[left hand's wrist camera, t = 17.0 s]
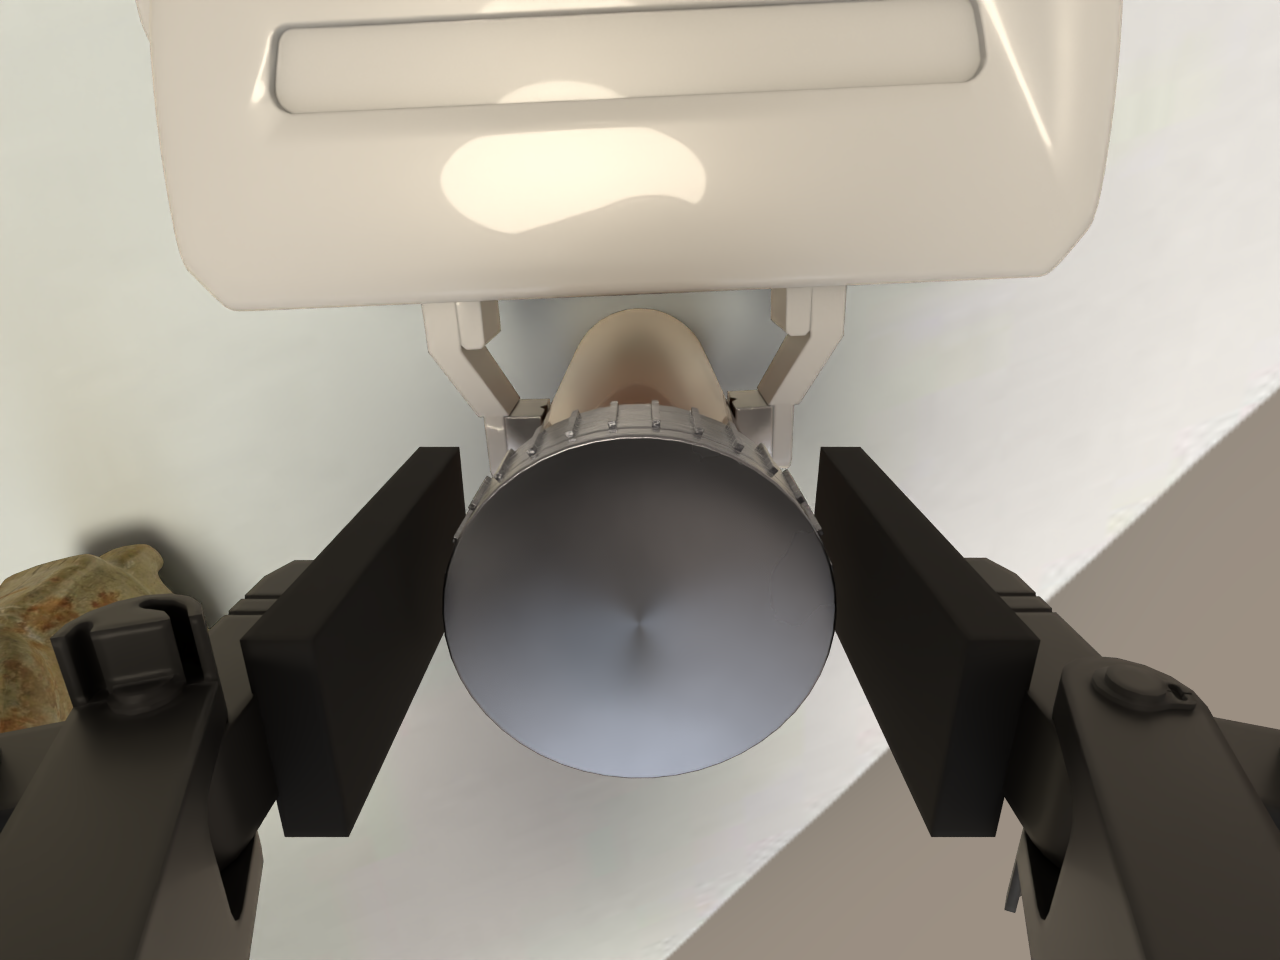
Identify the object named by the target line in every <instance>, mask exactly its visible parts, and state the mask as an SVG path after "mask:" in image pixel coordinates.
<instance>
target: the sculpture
mask: <svg viewBox="0 0 1280 960" xmlns="http://www.w3.org/2000/svg"><path fill="white" fill-rule="evenodd" d="M162 566H163V559H162V557H161V555H160V554H159V553H158V552H157V551H156V550H155V549H154V548H153V547H151V546H150V545H147V544H135V545H128V546H123V547H119V548H116V549H113V550H111V551H109V552H107V553H105V554H103V555H101V556H99V557H97V556H95V555H90V554H82V555H76V556H72V557H68V558H64V559H60V560H56V561H52V562H48V563H45V564H41V565H38V566H35V567H32V568H30V569H27V570H24V571H22V572H19V573H17V574H14V575H12V576H10V577H8V578H7V579H5V580H4V581H3V583H2V584H1V585H0V733H4V732H10V731H15V730H20V729H25V728H30V727H36V726H41V725H46V724H51V723H57V722H62V721H66V719H67V717H68V715H69V714H70V712H71V710H72V708H73V706H72V703H71V700H70V697H69V694H68V691H67V688H66V685H65V682H64V679H63V676H62V673H61V670H60V667H59V664H58V662H57V659H56V656H55V653H54V650H53V647H52V644H51V641H50V638H51V637H52V636H53V635H54V634H55V633H56V632H57V631H58V630H59V629H61V628H62V627H63V626H64V625H65V624H67V623H69V622H70V621H72V620H74V619H76V618H78V617H80V616H81V615H83V614H85V613H87V612H89V611H92V610H94V609H97V608H100V607H103V606H105V605H108V604H111V603H114V602H117V601H121V600H125V599H130V598H135V597H139V596H144V595H154V594H168V593H172V594H174V593H173V592H172V591H171V590H169V589H168V588H167V587H166V586H165V585H164V584H163V583H162V581H161V579H160V578H159V575H158V571H159V570H160V569H161V568H162ZM207 629H208V627H207ZM208 631H209V629H208Z"/></svg>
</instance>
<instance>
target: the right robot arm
mask: <svg viewBox="0 0 1280 960" xmlns="http://www.w3.org/2000/svg"><path fill="white" fill-rule="evenodd" d="M136 4H137V8H138V12H139V16H140V20H141V23H142V26H143V29H144V31H145V33H146V35H147V38H148V40H149V41H150V53H151V65H152V77H153V89H154V100H155V109H156V119H157V127H158V134H159V142H160V149H161V156H162V164H163V170H164V176H165V183H166V189H167V195H168V201H169V206H170V211H171V217H172V222H173V227H174V232H175V237H176V241H177V244H178V248H179V252H180V255H181V258H182V260H183V263H184V265H185V267H186V268H187V270H188V271H189V272H190V273H191V274H192V275H193V276H194V277H195V278H196V279H197V280H198V281H199V282H200V283H201V284H202V285H203V286H204V287H205V288H206V289H207V290H208V292H209V293H210V294H211V295H213V296H214V297H215V298H216V299H217V300H218V301H219V302H220V303H221V304H222V305H223V306H225V307H226V308H228V309H230V310H233V311H262V310H285V309H309V308H332V307H355V306H379V305H402V304H421V305H422V312H423V319H424V325H425V332H426V339H427V346H428V352H429V354H430V355H431V356H432V357H433V359H434V360H435V361H436V363H437V364H438V365H439V367H440V368H441V369H442V370H443V372H444V373H445V374H446V376H447V377H448V378H449V380H450V381H451V382H452V383H453V385H454V386H455V387H456V389H457V390H458V391H459V393H460V394H461V395H462V396H463V398H464V399H465V400H466V402H467V403H468V404H469V406H470V407H471V408H472V409H473V411H474V412H475V413H476V415H477V416H478V417H484V424H485V432H486V440H487V448H488V456H489V464H490V472H491V474H492V476H494V474H495V472H496V471H497V469H498V467H499V465H500V463H501V462H502V460H503V458H504V456H505V454H506V453H507V451H508V450H509V449H510V448H512V449H513V450H514V451H516V450H517V449H518V448H519V447H520V446H522V445H523V444H524V443H526V442H527V441H528V440H529V439H531V438H532V437H533V435H534V433H535V431H536V429H537V428H538V427H540V426H541V425H542V423H543V420H544V418H545V416H546V414H547V412H548V410H549V408H550V399H520V397H519V395H518V394H517V392H516V391H515V389H514V388H513V386H512V385H511V383H510V382H509V380H508V379H507V377H506V376H505V374H504V373H503V371H502V370H501V368H500V367H499V366H498V364H497V363H496V361H495V360H494V358H493V357H492V355H491V354H490V352H489V351H488V349H487V348H486V346H485V345H486V344H487V343H488V342H490V341H491V340H492V339H493V338H494V337H495V336H496V335H497V334H498V333H499V332H500V331H501V326H500V316H499V306H498V300H518V299H542V298H565V297H588V296H612V295H635V294H658V293H682V292H705V291H728V290H752V289H771V320H772V321H773V322H774V323H775V324H776V325H777V326H779V327H780V328H781V329H782V330H784V331H785V332H786V333H787V336H786V337H785V339H784V341H783V343H782V344H781V346H780V348H779V350H778V351H777V353H776V355H775V357H774V358H773V360H772V362H771V364H770V366H769V367H768V369H767V371H766V373H765V374H764V376H763V378H762V380H761V381H760V383H759V385H758V387H757V389H758V390H743V391H727V402H728V404H729V406H730V409H731V411H732V413H733V415H734V417H735V420H736V422H737V424H738V426H739V428H740V431H741V433H742V434H743V435H744V436H745V437H747V438H748V439H749V440H751V441H752V442H753V443H755V444H756V445H757V446H758V445H759V444H760V443H763V444H764V445H765V446H766V448H767V450H768V452H769V453H770V455H771V457H772V459H773V461H774V462H775V463H776V464H777V466H778V467H779V468H789V467H790V464H791V460H792V442H793V414H794V405H797V404H799V403H800V402H801V400H802V399H803V397H804V396H805V394H806V393H807V391H808V390H809V388H810V386H811V385H812V383H813V382H814V380H815V379H816V377H817V376H818V374H819V373H820V371H821V369H822V368H823V366H824V365H825V363H826V362H827V360H828V359H829V357H830V356H831V354H832V352H833V351H834V349H835V348H836V346H837V345H838V343H839V342H840V340H841V339H842V337H843V335H844V320H845V304H846V288H847V285H868V284H891V283H915V282H938V281H961V280H985V279H1007V278H1029V277H1040V276H1044V275H1047V274H1048V273H1050V272H1051V271H1052V270H1053V269H1054V268H1055V267H1056V266H1057V265H1058V264H1059V263H1060V262H1061V261H1062V260H1063V259H1064V258H1065V257H1066V256H1067V254H1068V253H1069V252H1070V251H1071V250H1072V249H1073V247H1074V246H1075V245H1076V244H1077V243H1078V241H1079V240H1080V239H1081V238H1082V237H1083V235H1084V234H1085V233H1086V232H1087V231H1088V229H1089V228H1090V226H1091V224H1092V222H1093V220H1094V216H1095V213H1096V210H1097V207H1098V204H1099V199H1100V194H1101V189H1102V184H1103V179H1104V174H1105V167H1106V161H1107V154H1108V147H1109V141H1110V134H1111V127H1112V119H1113V111H1114V103H1115V95H1116V84H1117V74H1118V63H1119V53H1120V39H1121V24H1122V6H1123V0H136Z"/></svg>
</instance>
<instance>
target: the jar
mask: <svg viewBox="0 0 1280 960" xmlns="http://www.w3.org/2000/svg"><path fill="white" fill-rule="evenodd" d="M651 400H658V401H659V405H662V406H671V407H676V408H680V409H684V410H688V411H690V410H691V407H695V408H698V410H699V413H700V414H702V415H705V416H707V417H710V418H712V419H715V420H717V421H720V422H722V423H723V424H725V425H727V423H728V421H730V422H732V423H734V424H735V426H736V428H737V431H738V432H740V433H741V431H740V428H739V426H738V424H737V422H736V420H735V417H734V415H733V413H732V411H731V409H730V406H729V404H728V402H727V400H726V398H725V396H724V393H723V391H722V389H721V387H720V385H719V382H718V380H717V378H716V376H715V374H714V371H713V369H712V367H711V365H710V363H709V360H708V358H707V356H706V354H705V352H704V350H703V348H702V346H701V344H700V342H699V340H698V339H697V337H696V336H695V335H694V333H693V332H692V331H691V330H690V329H689V328H688V327H687V326H686V325H685V324H683V323H682V322H681V321H679V320H678V319H676V318H675V317H673V316H671V315H668V314H666V313H664V312H661V311H657V310H652V309H644V308H635V309H627V310H623V311H619V312H616V313H614V314H611V315H609V316H607V317H605V318H604V319H602V320H601V321H599V322H598V323H596V324H595V325H594V326H593V327H592V328H591V329H590V330H589V331H588V332H587V333H586V335H585V336H584V337H583V338H582V340H581V342H580V343H579V345H578V347H577V349H576V351H575V353H574V356H573V358H572V360H571V362H570V364H569V366H568V369H567V371H566V373H565V375H564V377H563V379H562V382H561V384H560V386H559V388H558V390H557V392H556V395H555V397H554V399H553V401H552V403H551V405H550V408H549V410H548V412H547V414H546V416H545V418H544V420H543V423H542V426H543V427H544V429H546V428H548V427H550V426H551V425H553V424H555V423H557V422H560V421H562V420H564V419H567V418H569V417H570V416H571V413H572V411H574V410H577V409H578V410H579V412H580V413H583V412H587V411H590V410H594V409H598V408H602V407H609V406H610V404H611V401H618V405H624V404H651ZM741 434H742V433H741Z"/></svg>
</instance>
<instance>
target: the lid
mask: <svg viewBox="0 0 1280 960" xmlns="http://www.w3.org/2000/svg"><path fill="white" fill-rule="evenodd" d="M468 508H469V511H468V512H467V514H466V516H465V518H464V519H463V521H462V523H461V525H460V526H459V528H458V530H457V532H456V533H455V535H454V537H453V540H452V543H454V544H455V545H454V548H453V550H452V553H451V556H450V559H449V562H448V565H447V568H446V571H445V574H444V585H443V591H442V618H443V626H444V634H445V638H446V642H447V645H448V649H449V652H450V656H451V659H452V661H453V663H454V666H455V668H456V670H457V673H458V675H459V677H460V679H461V681H462V682H463V684H464V685H465V687H466V689H467V690H468V692H469V694H470V695H471V697H472V698H473V699H474V701H475V702H476V703H477V704H478V705H479V707H480V708H481V709H482V710H483V712H484V713H485V714H486V715H487V716H488V717H489V718H490V719H491V720H492V721H493V722H494V723H495V724H496V725H497V726H499V727H500V728H501V729H502V730H503V731H504V732H506V733H507V734H508V735H510V736H511V737H512V738H514V739H515V740H516V741H518V742H519V743H520V744H522V745H524V746H525V747H527V748H529V749H531V750H532V751H534V752H536V753H538V754H539V755H541V756H544V757H546V758H548V759H550V760H553V761H555V762H557V763H560V764H562V765H565V766H568V767H572V768H575V769H578V770H581V771H585V772H590V773H595V774H600V775H605V776H613V777H624V778H656V777H665V776H674V775H680V774H684V773H689V772H693V771H698V770H701V769H704V768H707V767H710V766H713V765H716V764H719V763H722V762H724V761H726V760H728V759H731V758H733V757H735V756H737V755H739V754H742V753H743V752H745V751H747V750H748V749H750V748H752V747H753V746H755V745H757V744H758V743H760V742H762V741H763V740H764V739H765V738H767V737H768V736H769V735H771V734H772V733H773V732H774V731H776V730H777V729H778V728H780V727H781V726H782V725H783V724H784V723H785V722H786V721H787V720H788V719H789V718H790V717H791V716H792V715H793V714H794V713H795V712H796V710H797V709H798V708H799V707H800V705H801V704H802V703H803V701H804V700H805V699H806V698H807V696H808V695H809V694H810V692H811V690H812V688H813V687H814V685H815V683H816V682H817V680H818V678H819V676H820V675H821V672H822V670H823V667H824V665H825V663H826V660H827V658H828V655H829V652H830V648H831V644H832V640H833V636H834V632H835V623H836V613H837V602H836V586H835V581H834V576H833V570H834V569H833V564H832V562H831V560H830V559H829V557H828V555H827V552H826V549H825V546H824V544H823V541H822V540H821V538H820V536H822V535H824V533H823V530H822V528H821V526H820V525H819V523H818V521H817V519H816V518H815V516H814V514H813V512H812V511H811V509H810V507H809V505H808V504H807V502H806V500H805V498H804V496H803V495H802V493H801V491H800V489H799V488H798V486H797V484H796V482H795V481H794V479H793V477H792V475H791V474H790V472H789V471H788V470H787V469H786V470H785V471H783V472H782V471H781V469H780V468H779V467H778V466H777V464H776V463H775V462H774V461H773V459H772V457H771V455H770V453H769V452H768V450H767V448H766V446H765V445H764V444H763V443H760V444H759V445H758V446H757V445H756V444H755V443H753V442H752V441H751V440H749V439H748V438H747V437H745V436H744V435H743V434H741V433H740V432H738V431H737V428H736V426H735V424H734V423H732V422H730V421H728V423H727V425H725V424H723V423H722V422H720V421H717V420H715V419H712V418H710V417H707V416H705V415H702V414H700V413H699V410H698V408H695V407H691V410H690V411H688V410H684V409H680V408H676V407H671V406H662V405H659V401H658V400H651V404H624V405H618V401H611V404H610V406H609V407H602V408H598V409H594V410H590V411H587V412H583V413H580V412H579V410H578V409H577V410H574V411H572V413H571V416H570V417H569V418H567V419H564V420H562V421H560V422H557V423H555V424H553V425H551V426H550V427H548V428H546V429H544V427H543V426H542V425H541V426H540V427H538V428H537V429H536V431H535V433H534V435H533V437H532V438H531V439H529V440H528V441H527V442H526V443H524V444H523V445H522V446H520V447H519V448H518V449H517V450H516V451H514V450H513V449H512V448H510V449H509V450H508V451H507V453H506V454H505V456H504V458H503V460H502V462H501V463H500V465H499V467H498V469H497V471H496V472H495V474H494V476H493V477H492V479H491V478H490V477H488V476H486V478H485V480H484V481H483V483H482V485H481V486H480V488H479V490H478V491H477V493H476V495H475V497H474V498H473V500H472V502H471V503H470V505H469V507H468Z"/></svg>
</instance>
